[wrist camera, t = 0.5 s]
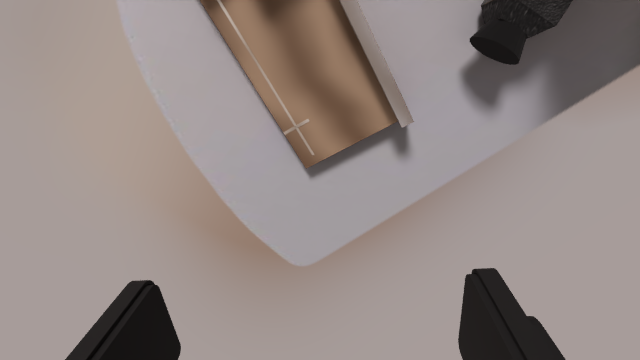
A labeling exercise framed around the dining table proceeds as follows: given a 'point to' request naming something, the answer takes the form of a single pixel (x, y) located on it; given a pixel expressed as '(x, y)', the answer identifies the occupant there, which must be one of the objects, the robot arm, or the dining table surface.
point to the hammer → (514, 26)
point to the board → (313, 70)
